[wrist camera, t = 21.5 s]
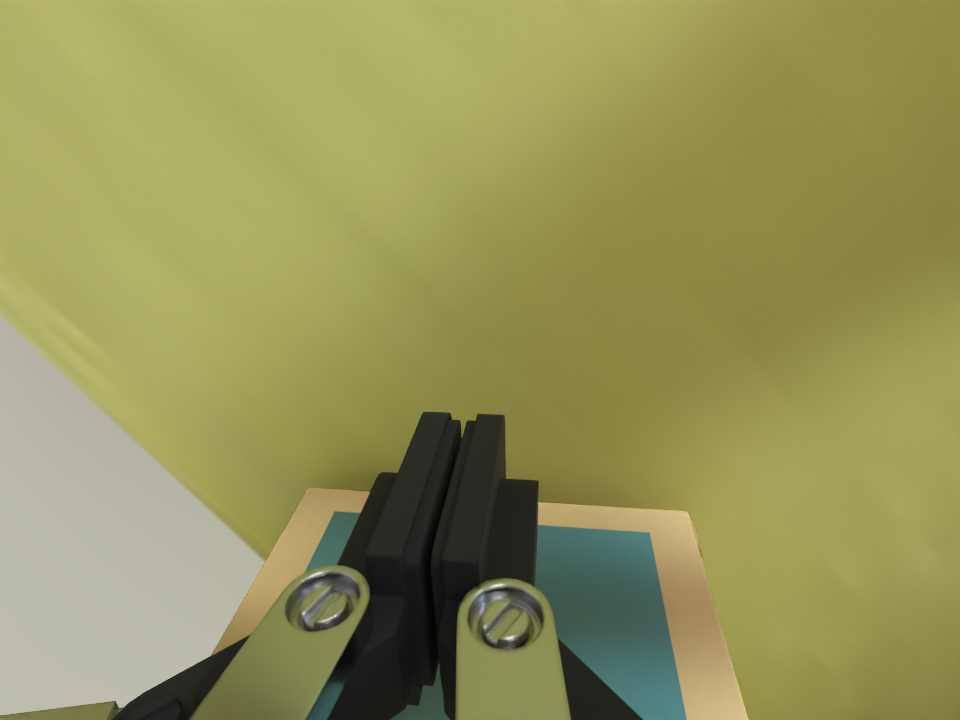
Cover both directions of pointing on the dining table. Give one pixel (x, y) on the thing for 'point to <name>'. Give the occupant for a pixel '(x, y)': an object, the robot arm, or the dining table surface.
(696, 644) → the photo frame
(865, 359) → the dining table surface
